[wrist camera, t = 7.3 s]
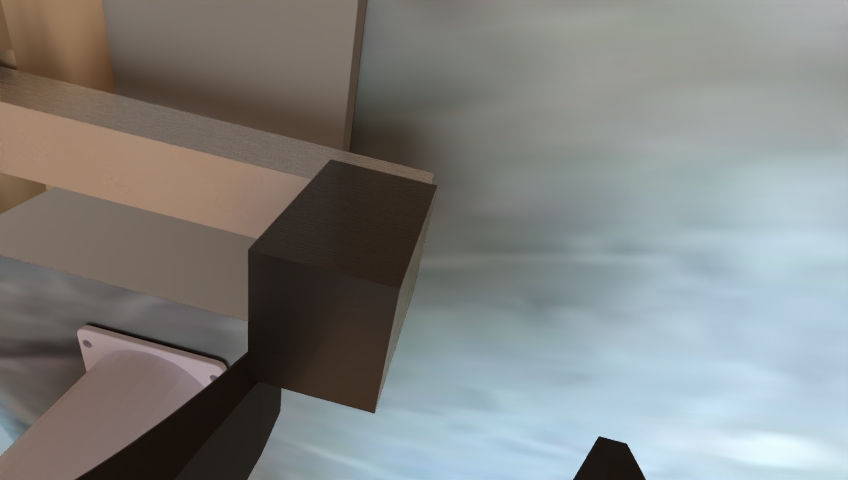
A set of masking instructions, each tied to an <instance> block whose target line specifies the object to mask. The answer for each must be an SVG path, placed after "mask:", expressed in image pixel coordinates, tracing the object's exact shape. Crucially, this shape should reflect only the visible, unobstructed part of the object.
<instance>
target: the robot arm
mask: <svg viewBox="0 0 848 480" xmlns="http://www.w3.org/2000/svg"><path fill="white" fill-rule="evenodd" d="M77 335H78V339H79V343H80V347H81V351H82V355H83V359H84V363H85V367H86V371H87V373H86V374H84V375H83V376H82V377H81V378H80V379H79V380H78V381H77V382H76V383H75V384H74V385H73V386H72V387H71V388H70V389H69V390H68V391H67V392H66V393H65V394H64V395H63V396H62V397H61V398H60V399H59V400H58V401H57V402H56V403H55V404H54V405H52V406H51V407H50V408H49V409H48V410H47V411H46V412H45V413H44V414H43V415H42V416H41V417H40V418H39V419H38V420H37V421H36V422H35V423H34V424H33V425H32V426H31V427H30V428H29V429H28V430H27V431H26V432H25V433H24V434H23V435H22V436H20V437H19V438H18V439H17V440H16V441H15V442H14V443H13V444H12V445H11V446H10V447H9V448H8V449H7V450H6V451H5V452H4V453H3V454H2V455H1V456H0V480H247V479H248V477H249V475H250V473H251V472H252V470H253V468H254V466H255V465H256V463H257V461H258V459H259V457H260V456H261V454H262V452H263V449H264V447H265V445H266V443H267V440H268V438H269V436H270V434H271V431H272V429H273V427H274V424H275V422H276V420H277V417H278V415H279V413H280V406H281V388H279V387H276V386H272V385H268V384H265V383H261V382H257V381H254V380H250V379H248V352H247V353H245V354H244V355H243V356H242V357H241V358H240V359H239V360H237V361H236V362H235V363H234V364H233V365H232V366H230V367H229V368H228V369H227V368H226V366H225V364H224V363H222V362H221V361H218V360H215V359H211V358H207V357H204V356H200V355H196V354H193V353H189V352H185V351H182V350H178V349H174V348H171V347H167V346H163V345H159V344H156V343H152V342H148V341H145V340H141V339H137V338H134V337H130V336H126V335H123V334H119V333H115V332H112V331H108V330H104V329H100V328H97V327H93V326H89V325H84V326H82V327H81V328H80V329H79V330H78V331H77ZM573 480H646V479H645V477H644V475H643V473H642V471H641V470H640V468H639V466H638V464H637V462H636V460H635V458H634V456H633V454H632V452H631V451H630V449H629V447H628V445H627V444H626V443H622V442H618V441H615V440H611V439H607V438H604V437H600V436H599V437H598V439H597V440H596V442H595V444H594V446H593V447H592V449H591V451H590V452H589V454H588V456H587V457H586V459H585V461H584V462H583V464H582V466H581V467H580V469H579V471H578V472H577V474H576V476H575V478H574V479H573Z"/></svg>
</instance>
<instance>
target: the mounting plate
mask: <svg viewBox="0 0 848 480" xmlns="http://www.w3.org/2000/svg"><path fill="white" fill-rule="evenodd" d="M366 3H367V0H102V4H103V11H104V18H105V25H106V32H107V39H108V46H109V53H110V60H111V67H112V74H113V81H114V88H115V95H119V96H123V97H127V98H131V99H135V100H139V101H143V102H147V103H152V104H156V105H160V106H164V107H168V108H172V109H176V110H180V111H184V112H188V113H192V114H196V115H200V116H204V117H208V118H212V119H216V120H220V121H224V122H228V123H233V124H237V125H241V126H245V127H249V128H253V129H257V130H261V131H265V132H269V133H273V134H277V135H281V136H285V137H289V138H293V139H297V140H301V141H305V142H309V143H314V144H318V145H322V146H326V147H330V148H334V149H338V150H342V151H346V152H349V150H350V142H351V133H352V124H353V115H354V107H355V98H356V89H357V81H358V72H359V63H360V55H361V46H362V37H363V29H364V20H365V11H366ZM256 240H257V239H256V238H253V237H249V236H245V235H241V234H237V233H233V232H229V231H225V230H222V229H218V228H214V227H210V226H206V225H202V224H198V223H194V222H190V221H187V220H183V219H179V218H175V217H171V216H167V215H163V214H159V213H156V212H152V211H148V210H144V209H140V208H136V207H132V206H128V205H125V204H121V203H117V202H113V201H109V200H105V199H101V198H97V197H94V196H90V195H86V194H82V193H78V192H74V191H70V190H66V189H63V188H59V187H53V188H51V189H49V190H47V191H45V192H43V193H41V194H39V195H37V196H35V197H33V198H32V199H30V200H28V201H26V202H24V203H22V204H20V205H18V206H16V207H14V208H12V209H10V210H8V211H6V212H4V213H2V214H0V255H1V256H5V257H9V258H13V259H16V260H20V261H24V262H28V263H31V264H35V265H39V266H43V267H46V268H50V269H54V270H58V271H61V272H65V273H69V274H73V275H76V276H80V277H84V278H88V279H91V280H95V281H99V282H103V283H106V284H110V285H114V286H118V287H121V288H125V289H129V290H133V291H136V292H140V293H144V294H148V295H151V296H155V297H159V298H163V299H166V300H170V301H174V302H178V303H181V304H185V305H189V306H193V307H196V308H200V309H204V310H208V311H211V312H215V313H219V314H223V315H226V316H230V317H234V318H238V319H241V320H245V321H248V249H249V248H250V247H251V246H252V245H253V243H254V242H255V241H256Z"/></svg>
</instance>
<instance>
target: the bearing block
mask: <svg viewBox="0 0 848 480" xmlns="http://www.w3.org/2000/svg"><path fill="white" fill-rule="evenodd" d="M0 66H2V67H6V68H10V69H14V70H18V71H22V72H26V73H30V74H34V75H38V76H42V77H46V78H50V79H54V80H58V81H62V82H67V83H71V84H75V85H79V86H83V87H87V88H91V89H95V90H99V91H103V92H107V93H111V94H115V88H114V81H113V74H112V67H111V60H110V53H109V46H108V39H107V32H106V25H105V18H104V11H103V4H102V0H0ZM53 187H55V186H51V185H47V184H43V183H39V182H35V181H32V180H28V179H24V178H20V177H16V176H12V175H8V174H4V173H1V172H0V214H2V213H4V212H6V211H8V210H10V209H12V208H14V207H16V206H18V205H20V204H22V203H24V202H26V201H28V200H30V199H32V198H33V197H35V196H37V195H39V194H41V193H43V192H45V191H47V190H49V189H51V188H53Z"/></svg>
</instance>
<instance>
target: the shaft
mask: <svg viewBox="0 0 848 480" xmlns="http://www.w3.org/2000/svg"><path fill="white" fill-rule="evenodd" d="M0 172H1V173H4V174H8V175H12V176H16V177H20V178H24V179H28V180H32V181H35V182H39V183H43V184H47V185H51V186H55V187H59V188H63V189H66V190H70V191H74V192H78V193H82V194H86V195H90V196H94V197H97V198H101V199H105V200H109V201H113V202H117V203H121V204H125V205H128V206H132V207H136V208H140V209H144V210H148V211H152V212H156V213H159V214H163V215H167V216H171V217H175V218H179V219H183V220H187V221H190V222H194V223H198V224H202V225H206V226H210V227H214V228H218V229H222V230H225V231H229V232H233V233H237V234H241V235H245V236H249V237H253V238H256V239H257V240H256V241H255V242H254V243H253V245H252V246H251V247H250V248H249V249H248V379H250V380H254V381H257V382H261V383H265V384H268V385H272V386H276V387H279V388H283V389H287V390H290V391H294V392H298V393H301V394H305V395H309V396H312V397H316V398H320V399H323V400H327V401H331V402H335V403H338V404H342V405H346V406H349V407H353V408H357V409H360V410H364V411H368V412H371V413H375V411H376V408H377V404H378V401H379V398H380V395H381V392H382V389H383V385H384V382H385V379H386V376H387V373H388V370H389V367H390V363H391V360H392V357H393V354H394V351H395V348H396V345H397V341H398V338H399V335H400V332H401V329H402V326H403V323H404V319H405V316H406V313H407V310H408V307H409V304H410V301H411V297H412V294H413V291H414V287H415V283H416V278H417V274H418V270H419V265H420V261H421V256H422V252H423V247H424V243H425V238H426V234H427V229H428V225H429V220H430V216H431V212H432V207H433V203H434V198H435V194H436V189H437V185H433V184H432V180H433V175H434V173H431V172H427V171H423V170H419V169H415V168H411V167H407V166H403V165H399V164H395V163H390V162H386V161H382V160H378V159H374V158H370V157H366V156H362V155H358V154H354V153H350V152H346V151H342V150H338V149H334V148H330V147H326V146H322V145H318V144H314V143H309V142H305V141H301V140H297V139H293V138H289V137H285V136H281V135H277V134H273V133H269V132H265V131H261V130H257V129H253V128H249V127H245V126H241V125H237V124H233V123H228V122H224V121H220V120H216V119H212V118H208V117H204V116H200V115H196V114H192V113H188V112H184V111H180V110H176V109H172V108H168V107H164V106H160V105H156V104H152V103H147V102H143V101H139V100H135V99H131V98H127V97H123V96H119V95H115V94H111V93H107V92H103V91H99V90H95V89H91V88H87V87H83V86H79V85H75V84H71V83H67V82H62V81H58V80H54V79H50V78H46V77H42V76H38V75H34V74H30V73H26V72H22V71H18V70H14V69H10V68H6V67H2V66H0Z"/></svg>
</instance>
